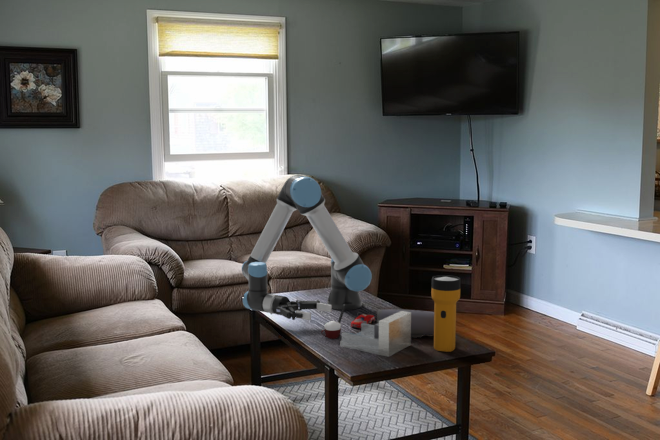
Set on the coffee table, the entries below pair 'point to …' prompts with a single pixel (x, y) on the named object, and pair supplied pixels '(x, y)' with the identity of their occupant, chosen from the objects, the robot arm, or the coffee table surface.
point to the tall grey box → (376, 330)
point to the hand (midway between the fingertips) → (321, 312)
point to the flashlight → (445, 310)
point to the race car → (362, 320)
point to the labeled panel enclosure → (382, 336)
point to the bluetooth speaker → (413, 321)
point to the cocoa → (333, 327)
